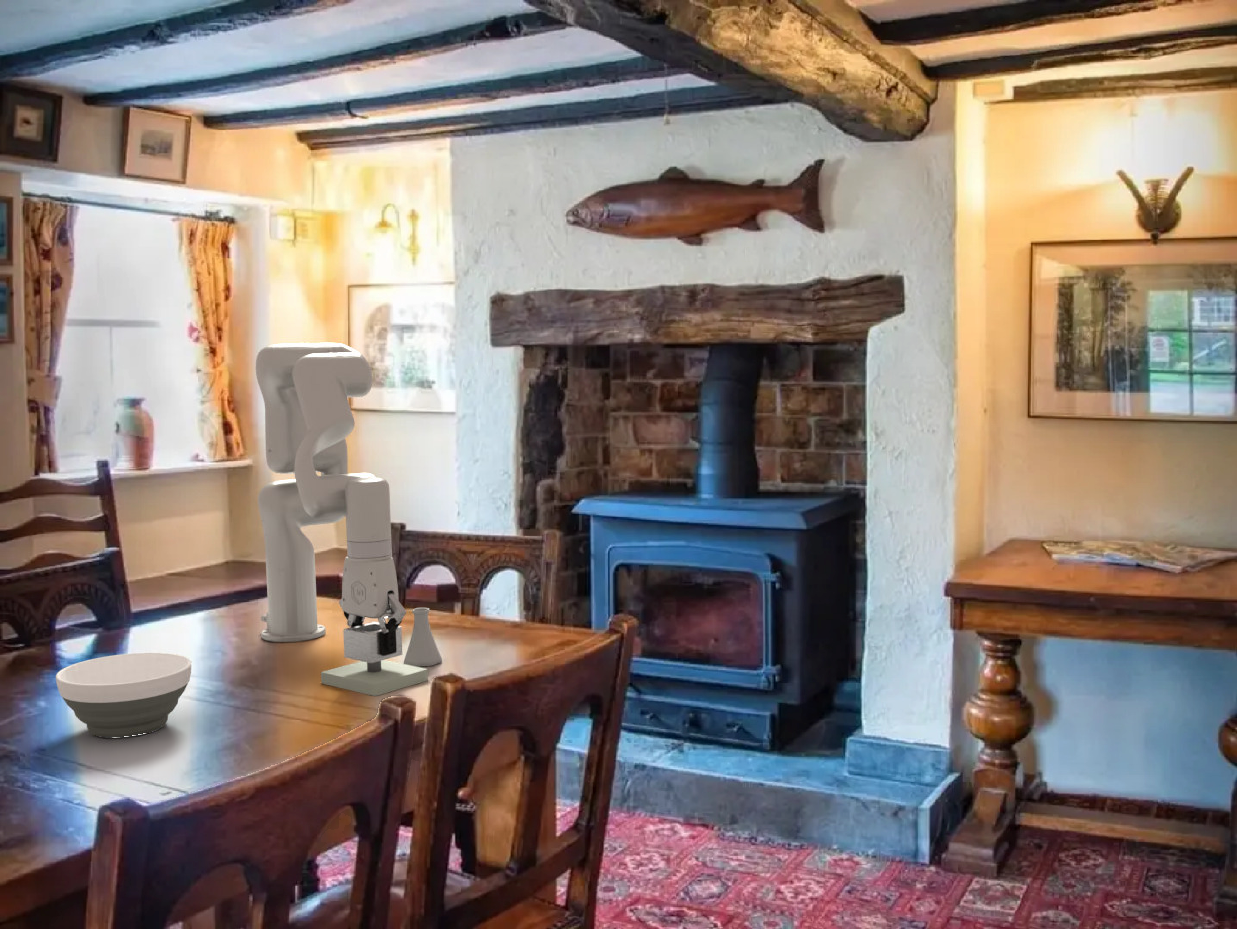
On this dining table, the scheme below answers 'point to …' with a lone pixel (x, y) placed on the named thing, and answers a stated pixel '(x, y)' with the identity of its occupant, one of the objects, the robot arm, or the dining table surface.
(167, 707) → the bowl
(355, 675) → the keeper
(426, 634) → the flask
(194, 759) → the dining table surface
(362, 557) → the robot arm
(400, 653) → the white square ring
